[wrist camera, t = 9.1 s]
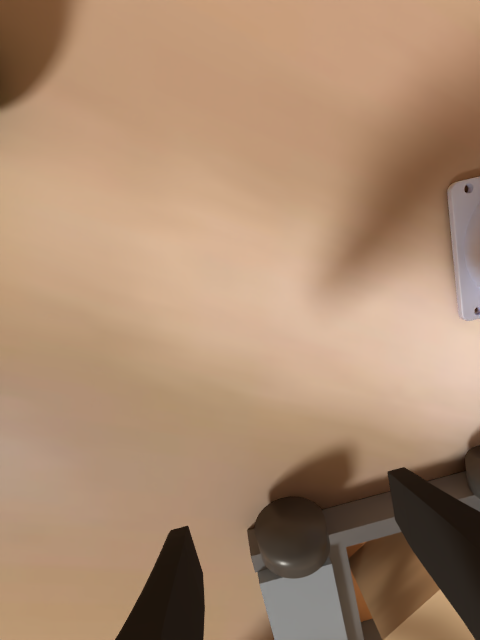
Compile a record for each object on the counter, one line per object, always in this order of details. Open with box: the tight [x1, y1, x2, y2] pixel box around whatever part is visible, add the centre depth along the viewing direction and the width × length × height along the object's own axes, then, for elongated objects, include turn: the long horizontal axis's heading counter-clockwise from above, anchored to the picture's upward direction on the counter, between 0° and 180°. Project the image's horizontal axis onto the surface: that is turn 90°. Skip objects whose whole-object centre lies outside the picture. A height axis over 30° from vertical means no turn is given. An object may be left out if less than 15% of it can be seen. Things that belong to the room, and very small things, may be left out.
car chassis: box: [247, 445, 480, 640], centre depth 23 cm, size 19×14×4 cm
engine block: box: [348, 532, 475, 640], centre depth 22 cm, size 4×6×5 cm
